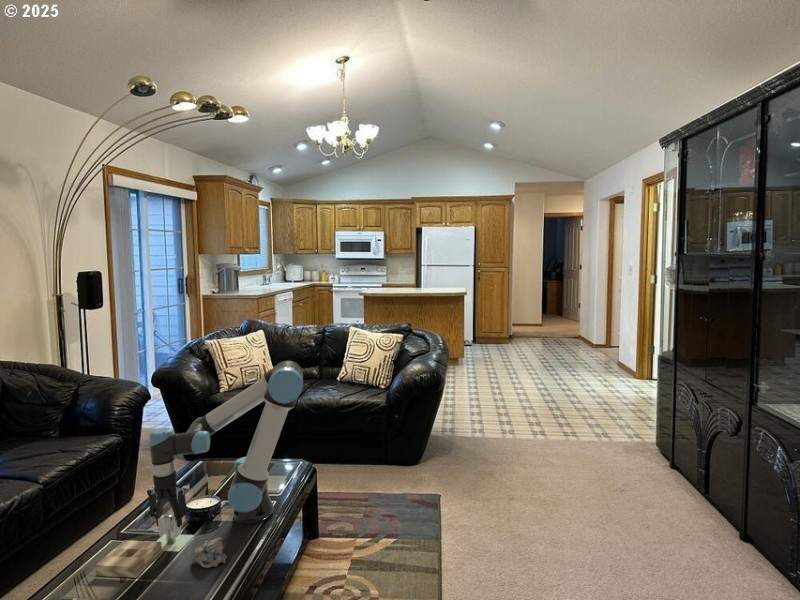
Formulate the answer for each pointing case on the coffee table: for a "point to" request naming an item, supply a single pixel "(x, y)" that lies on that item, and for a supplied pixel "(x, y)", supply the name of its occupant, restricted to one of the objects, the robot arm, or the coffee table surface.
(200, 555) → the mineral specimen
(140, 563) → the hole block
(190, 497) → the coffee table surface
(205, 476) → the coffee table surface
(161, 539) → the mat
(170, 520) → the pin
